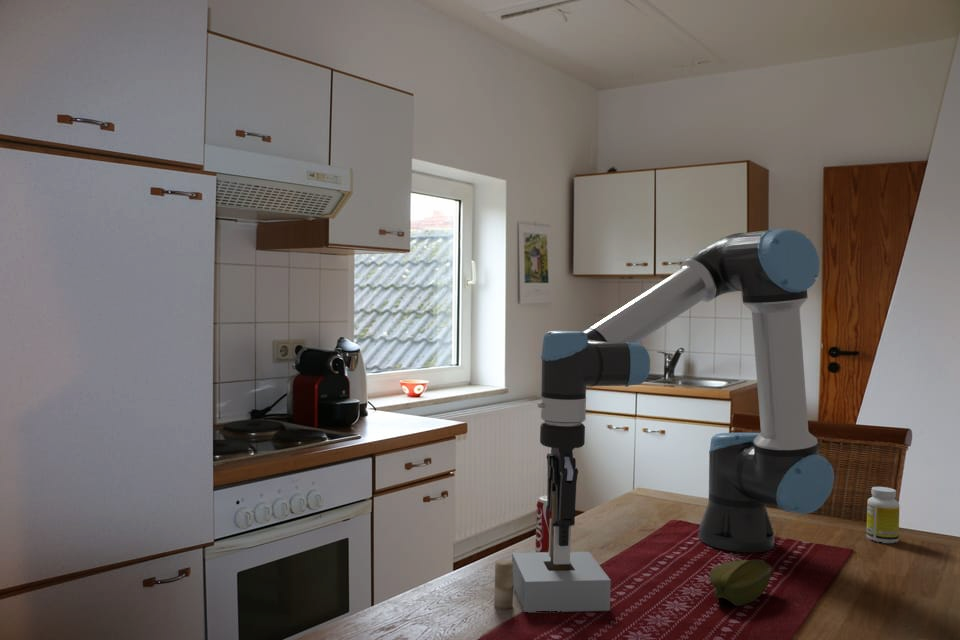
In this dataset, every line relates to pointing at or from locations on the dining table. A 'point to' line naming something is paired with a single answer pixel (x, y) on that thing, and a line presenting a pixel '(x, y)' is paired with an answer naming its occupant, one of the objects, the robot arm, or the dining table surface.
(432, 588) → the dining table surface
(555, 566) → the long pin
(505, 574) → the short pin
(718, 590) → the fruit
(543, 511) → the soda can
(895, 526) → the pill bottle
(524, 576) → the hole block
